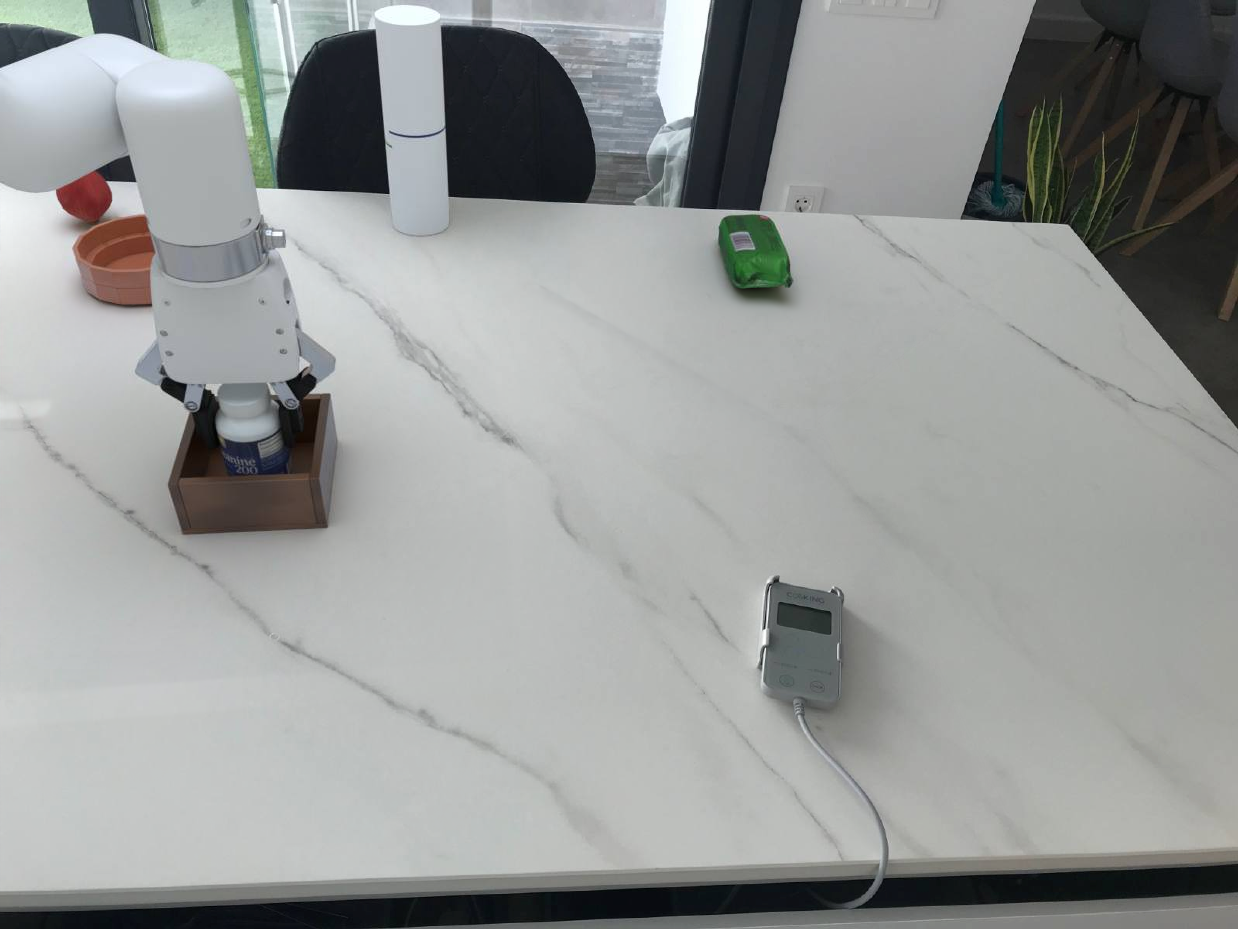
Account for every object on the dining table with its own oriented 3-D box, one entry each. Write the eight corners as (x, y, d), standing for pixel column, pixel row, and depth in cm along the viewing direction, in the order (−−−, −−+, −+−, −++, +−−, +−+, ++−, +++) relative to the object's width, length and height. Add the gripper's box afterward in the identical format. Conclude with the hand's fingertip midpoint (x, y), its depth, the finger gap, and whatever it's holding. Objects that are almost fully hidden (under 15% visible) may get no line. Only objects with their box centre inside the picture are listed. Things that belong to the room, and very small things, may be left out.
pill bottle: (216, 483, 85) (192, 393, 78) (264, 451, 88) (244, 362, 82) (261, 509, 83) (240, 418, 76) (307, 475, 86) (291, 386, 80)
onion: (56, 223, 118) (35, 159, 112) (99, 207, 121) (81, 144, 116) (85, 238, 115) (65, 174, 110) (129, 222, 119) (111, 159, 114)
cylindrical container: (424, 241, 121) (410, 29, 104) (380, 224, 123) (360, 14, 107) (460, 220, 125) (453, 14, 109) (417, 204, 128) (404, 0, 112)
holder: (182, 534, 81) (167, 484, 77) (206, 444, 89) (193, 396, 86) (327, 527, 82) (319, 478, 79) (337, 440, 91) (330, 392, 87)
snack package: (731, 305, 114) (738, 265, 111) (711, 239, 126) (717, 202, 123) (790, 306, 115) (799, 267, 112) (765, 241, 127) (772, 204, 124)
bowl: (70, 308, 104) (57, 272, 101) (101, 248, 114) (90, 214, 111) (198, 306, 106) (190, 271, 103) (218, 248, 116) (211, 214, 113)
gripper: (337, 220, 75) (360, 408, 87) (97, 220, 72) (155, 414, 84) (329, 270, 69) (355, 463, 81) (69, 272, 67) (135, 471, 78)
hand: (253, 436), depth 82 cm, fingers closed on pill bottle, 5 cm apart
